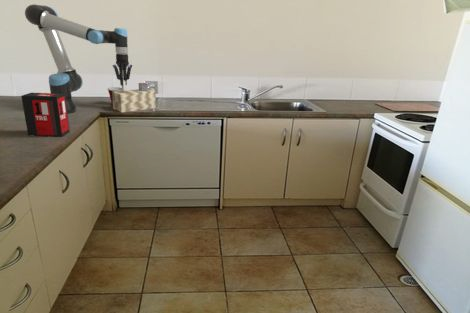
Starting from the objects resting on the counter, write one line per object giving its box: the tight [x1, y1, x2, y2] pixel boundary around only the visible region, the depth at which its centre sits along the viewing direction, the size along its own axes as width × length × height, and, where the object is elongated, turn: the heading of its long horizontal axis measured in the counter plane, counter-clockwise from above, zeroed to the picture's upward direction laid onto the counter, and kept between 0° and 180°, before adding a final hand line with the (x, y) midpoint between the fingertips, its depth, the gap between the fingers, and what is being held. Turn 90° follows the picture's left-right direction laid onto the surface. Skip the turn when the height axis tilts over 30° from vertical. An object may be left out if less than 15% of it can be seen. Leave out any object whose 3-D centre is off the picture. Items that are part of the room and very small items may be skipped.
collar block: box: [112, 88, 157, 113], centre depth 231 cm, size 26×12×12 cm, turn 134°
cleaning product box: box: [20, 92, 71, 138], centre depth 167 cm, size 16×9×20 cm, turn 92°
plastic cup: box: [106, 86, 123, 106], centre depth 240 cm, size 11×11×12 cm
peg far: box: [138, 82, 149, 91], centre depth 234 cm, size 4×4×9 cm
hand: (123, 90), depth 224 cm, fingers closed
